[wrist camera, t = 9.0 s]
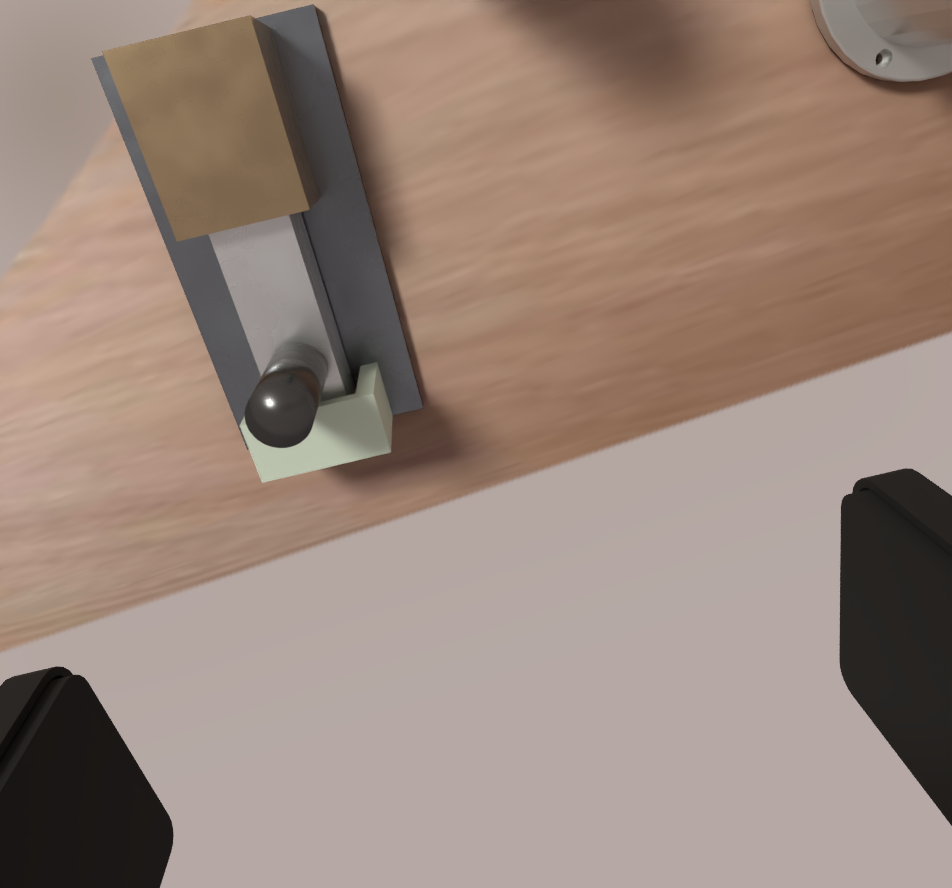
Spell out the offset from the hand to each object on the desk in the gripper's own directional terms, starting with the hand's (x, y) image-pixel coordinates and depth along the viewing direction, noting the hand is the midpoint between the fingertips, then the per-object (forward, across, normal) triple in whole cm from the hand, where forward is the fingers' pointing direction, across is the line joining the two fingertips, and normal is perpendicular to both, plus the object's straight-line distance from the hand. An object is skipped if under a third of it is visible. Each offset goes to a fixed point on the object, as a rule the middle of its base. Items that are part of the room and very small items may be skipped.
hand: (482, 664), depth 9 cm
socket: (+34, +8, +8) cm, 36 cm away
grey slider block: (+34, +8, +2) cm, 35 cm away
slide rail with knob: (+34, +8, -1) cm, 35 cm away
